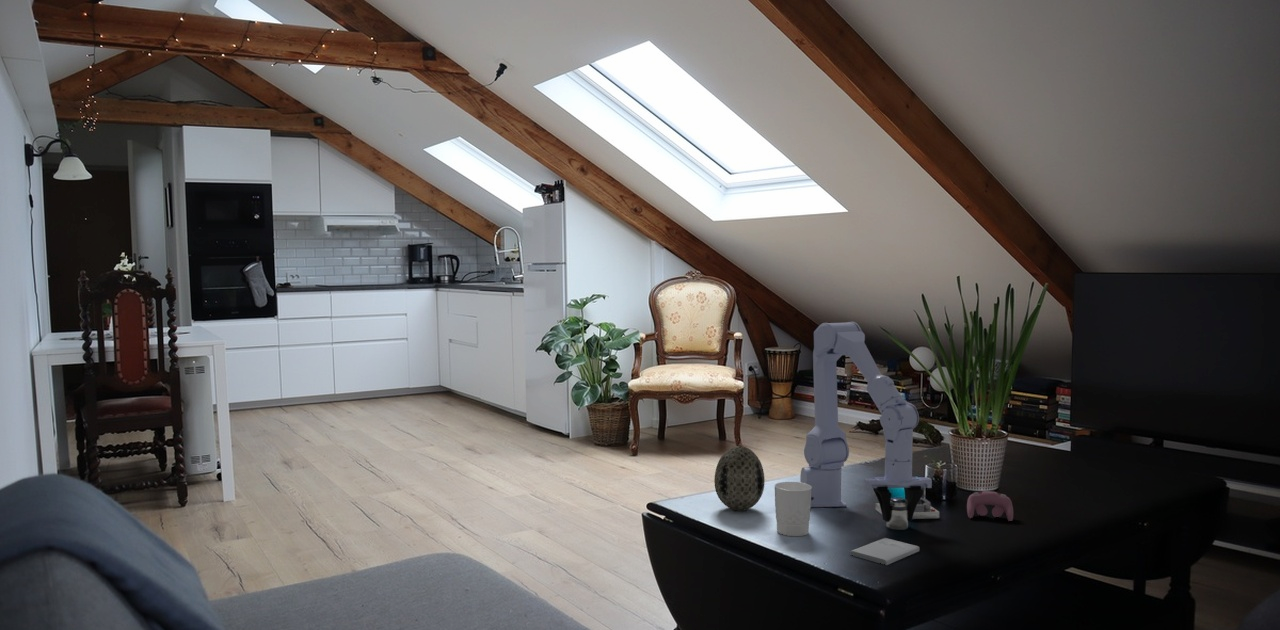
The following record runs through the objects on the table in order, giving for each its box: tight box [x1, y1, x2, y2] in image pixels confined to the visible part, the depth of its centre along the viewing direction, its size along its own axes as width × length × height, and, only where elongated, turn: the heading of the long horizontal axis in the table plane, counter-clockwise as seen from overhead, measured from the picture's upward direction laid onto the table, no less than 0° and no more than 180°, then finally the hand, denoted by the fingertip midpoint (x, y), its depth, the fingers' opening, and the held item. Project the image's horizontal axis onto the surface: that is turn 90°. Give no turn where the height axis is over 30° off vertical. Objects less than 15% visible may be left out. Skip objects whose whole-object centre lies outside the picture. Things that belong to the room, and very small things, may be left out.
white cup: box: [774, 481, 812, 537], centre depth 192 cm, size 8×8×10 cm
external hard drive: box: [849, 537, 920, 566], centre depth 178 cm, size 2×8×12 cm
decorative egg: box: [713, 445, 766, 512], centre depth 209 cm, size 12×12×15 cm
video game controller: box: [966, 490, 1014, 522], centre depth 204 cm, size 10×5×7 cm, turn 72°
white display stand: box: [874, 497, 940, 520], centre depth 206 cm, size 12×8×3 cm, turn 95°
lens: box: [886, 497, 909, 531], centre depth 196 cm, size 5×5×6 cm
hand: (897, 520), depth 196 cm, fingers closed on lens, 4 cm apart
